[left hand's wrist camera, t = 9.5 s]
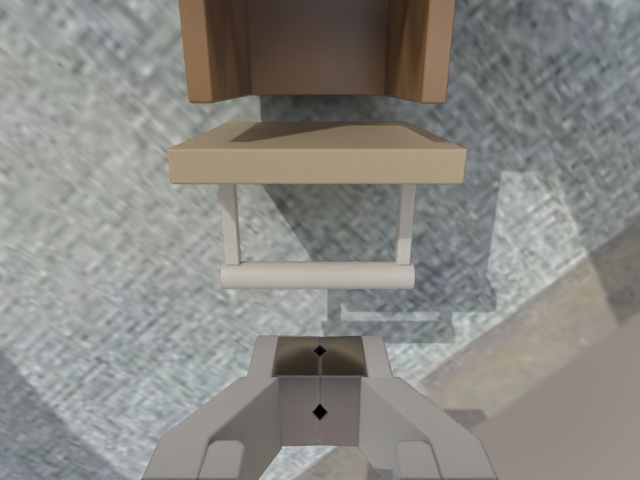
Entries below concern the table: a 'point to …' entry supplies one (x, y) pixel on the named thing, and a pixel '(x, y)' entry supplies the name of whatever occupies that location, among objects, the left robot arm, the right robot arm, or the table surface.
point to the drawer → (317, 137)
